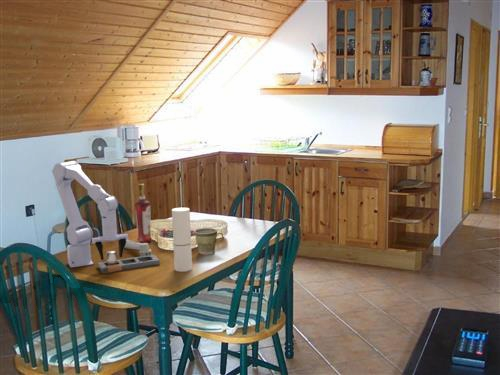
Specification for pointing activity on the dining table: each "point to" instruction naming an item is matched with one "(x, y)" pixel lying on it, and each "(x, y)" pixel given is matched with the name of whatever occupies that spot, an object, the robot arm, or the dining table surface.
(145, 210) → the liquor
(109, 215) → the robot arm
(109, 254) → the peg
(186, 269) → the cylindrical container
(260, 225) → the dining table surface
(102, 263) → the grey slotted tray
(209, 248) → the ceramic cup
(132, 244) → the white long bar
